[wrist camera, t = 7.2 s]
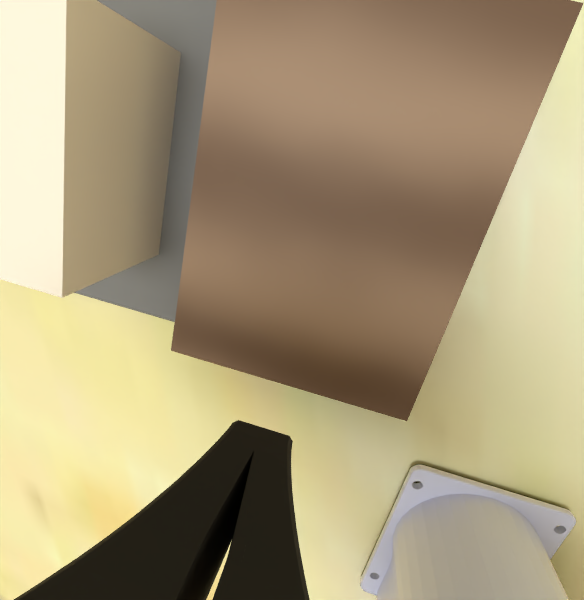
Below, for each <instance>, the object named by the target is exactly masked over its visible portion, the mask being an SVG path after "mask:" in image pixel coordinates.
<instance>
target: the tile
mask: <svg viewBox="0 0 584 600" xmlns="http://www.w3.org/2000/svg"><path fill="white" fill-rule="evenodd" d="M180 56H181V52H179V51H177V50H176V49H174V48H173V47H171V46H169V45H168V44H166V43H165V42H163V41H161V40H160V39H158V38H157V37H155V36H153V35H152V34H150V33H149V32H147V31H145V30H144V29H142V28H140V27H139V26H137V25H136V24H134V23H132V22H131V21H129V20H128V19H126V18H124V17H123V16H121V15H120V14H118V13H116V12H115V11H113V10H112V9H110V8H108V7H107V6H105V5H104V4H102V3H100V2H99V1H97V0H0V279H1V280H5V281H8V282H11V283H15V284H18V285H21V286H25V287H28V288H31V289H35V290H38V291H41V292H45V293H48V294H51V295H55V296H58V297H61V298H63V297H65V296H67V295H69V294H72V293H74V292H76V291H78V290H81V289H83V288H85V287H87V286H90V285H92V284H94V283H96V282H99V281H101V280H103V279H105V278H107V277H110V276H112V275H114V274H116V273H119V272H121V271H123V270H125V269H128V268H130V267H132V266H134V265H137V264H139V263H141V262H143V261H146V260H148V259H150V258H152V257H154V256H157V255H159V247H160V238H161V229H162V220H163V211H164V202H165V193H166V184H167V175H168V165H169V156H170V147H171V138H172V129H173V120H174V111H175V102H176V93H177V84H178V74H179V65H180Z"/></svg>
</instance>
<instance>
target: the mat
mask: <svg viewBox="0 0 584 600" xmlns="http://www.w3.org/2000/svg"><path fill="white" fill-rule="evenodd" d="M97 1H99V2H100V3H102V4H104V5H105V6H107V7H108V8H110V9H112V10H113V11H115V12H116V13H118V14H120V15H121V16H123V17H124V18H126V19H128V20H129V21H131V22H132V23H134V24H136V25H137V26H139V27H140V28H142V29H144V30H145V31H147V32H149V33H150V34H152V35H153V36H155V37H157V38H158V39H160V40H161V41H163V42H165V43H166V44H168V45H169V46H171V47H173V48H174V49H176V50H177V51H179V52H181V56H180V65H179V74H178V84H177V93H176V102H175V111H174V120H173V129H172V138H171V147H170V156H169V165H168V175H167V184H166V193H165V202H164V211H163V220H162V229H161V238H160V247H159V255H157V256H154V257H152V258H150V259H148V260H146V261H143V262H141V263H139V264H137V265H134V266H132V267H130V268H128V269H125V270H123V271H121V272H119V273H116V274H114V275H112V276H110V277H107V278H105V279H103V280H101V281H99V282H96V283H94V284H92V285H90V286H87V287H85V288H83V289H81V290H78V291H76V292H74V293H78V294H81V295H84V296H88V297H91V298H95V299H98V300H101V301H105V302H108V303H112V304H115V305H118V306H122V307H125V308H129V309H132V310H136V311H139V312H142V313H146V314H149V315H153V316H156V317H159V318H163V319H166V320H170V321H173V322H175V317H176V309H177V301H178V294H179V286H180V278H181V271H182V263H183V255H184V248H185V240H186V232H187V225H188V217H189V209H190V202H191V194H192V186H193V179H194V171H195V163H196V156H197V148H198V140H199V133H200V125H201V117H202V109H203V102H204V94H205V86H206V79H207V71H208V63H209V56H210V48H211V40H212V33H213V25H214V17H215V10H216V2H217V0H97Z"/></svg>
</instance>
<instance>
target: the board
mask: <svg viewBox="0 0 584 600" xmlns="http://www.w3.org/2000/svg"><path fill="white" fill-rule="evenodd" d="M582 5H583V3H580V2H575V1H571V0H217V2H216V10H215V17H214V25H213V33H212V40H211V48H210V56H209V63H208V71H207V79H206V86H205V94H204V102H203V109H202V117H201V125H200V133H199V140H198V148H197V156H196V163H195V171H194V179H193V186H192V194H191V202H190V209H189V217H188V225H187V232H186V240H185V248H184V255H183V263H182V271H181V278H180V286H179V294H178V301H177V309H176V317H175V325H174V332H173V340H172V348H171V351H174V352H178V353H181V354H184V355H188V356H191V357H194V358H198V359H201V360H204V361H208V362H211V363H214V364H218V365H221V366H224V367H228V368H231V369H234V370H238V371H241V372H245V373H248V374H251V375H255V376H258V377H261V378H265V379H268V380H271V381H275V382H278V383H281V384H285V385H288V386H291V387H295V388H298V389H301V390H305V391H308V392H311V393H315V394H318V395H321V396H325V397H328V398H331V399H335V400H338V401H341V402H345V403H348V404H352V405H355V406H358V407H362V408H365V409H368V410H372V411H375V412H378V413H382V414H385V415H388V416H392V417H395V418H398V419H402V420H405V421H407V420H408V417H409V415H410V412H411V410H412V408H413V405H414V403H415V401H416V398H417V396H418V394H419V391H420V389H421V386H422V384H423V382H424V379H425V377H426V375H427V372H428V370H429V367H430V365H431V363H432V360H433V358H434V356H435V353H436V351H437V349H438V346H439V344H440V341H441V339H442V337H443V334H444V332H445V330H446V327H447V325H448V323H449V320H450V318H451V315H452V313H453V311H454V308H455V306H456V304H457V301H458V299H459V296H460V294H461V292H462V289H463V287H464V285H465V282H466V280H467V278H468V275H469V273H470V270H471V268H472V266H473V263H474V261H475V259H476V256H477V254H478V251H479V249H480V247H481V244H482V242H483V240H484V237H485V235H486V233H487V230H488V228H489V225H490V223H491V221H492V218H493V216H494V214H495V211H496V209H497V206H498V204H499V202H500V199H501V197H502V195H503V192H504V190H505V188H506V185H507V183H508V180H509V178H510V176H511V173H512V171H513V169H514V166H515V164H516V161H517V159H518V157H519V154H520V152H521V150H522V147H523V145H524V143H525V140H526V138H527V135H528V133H529V131H530V128H531V126H532V124H533V121H534V119H535V116H536V114H537V112H538V109H539V107H540V105H541V102H542V100H543V98H544V95H545V93H546V90H547V88H548V86H549V83H550V81H551V79H552V76H553V74H554V72H555V69H556V67H557V64H558V62H559V60H560V57H561V55H562V53H563V50H564V48H565V45H566V43H567V41H568V38H569V36H570V34H571V31H572V29H573V27H574V24H575V22H576V19H577V17H578V15H579V12H580V10H581V8H582Z"/></svg>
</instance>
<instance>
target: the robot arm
mask: <svg viewBox="0 0 584 600" xmlns="http://www.w3.org/2000/svg"><path fill="white" fill-rule="evenodd" d="M292 442H293V441H292V440H291V438H290V436H288V435H285V434H281V433H278V432H275V431H272V430H268V429H265V428H262V427H259V426H255V425H252V424H249V423H246V422H243V421H239V420H238V421H236V422H234V423H232V425H231V426H230V427H229V428H228V430H227V431H226V432H225V433H224V434H223V435H222V436H221V438H220V439H219V440H218V441H217V442H216V443H215V444H214V445H213V446H212V447H211V448H210V449H209V450H208V451H207V452H206V453H205V454H204V455H203V456H202V457H201V458H200V459H199V460H198V461H197V462H196V463H195V464H194V465H193V466H192V467H191V468H189V469H188V470H187V471H186V472H185V473H184V474H183V475H182V476H181V477H180V478H179V479H178V480H177V481H175V482H174V483H173V484H172V485H171V486H170V487H169V488H167V489H166V490H165V491H164V492H163V493H161V494H160V495H159V496H158V497H157V498H155V499H154V500H153V501H152V502H151V503H149V504H148V505H147V506H146V507H145V508H143V509H142V510H141V511H140V512H139V513H137V514H136V515H135V516H134V517H132V518H131V519H130V520H128V521H127V522H126V523H125V524H123V525H122V526H121V527H119V528H118V529H117V530H115V531H114V532H113V533H111V534H110V535H109V536H107V537H106V538H105V539H103V540H102V541H100V542H99V543H98V544H96V545H95V546H93V547H92V548H91V549H89V550H88V551H87V552H85V553H84V554H82V555H81V556H79V557H78V558H77V559H75V560H74V561H72V562H71V563H69V564H68V565H66V566H65V567H63V568H62V569H60V570H59V571H57V572H56V573H54V574H53V575H51V576H50V577H48V578H47V579H45V580H44V581H42V582H41V583H39V584H38V585H36V586H35V587H33V588H31V589H30V590H28V591H27V592H25V593H24V594H22V595H20V596H19V597H17V598H16V599H14V600H206V599H207V596H208V594H209V592H210V589H211V587H212V585H213V582H214V580H215V578H216V575H217V573H218V571H219V568H220V566H221V564H222V561H223V559H224V557H225V554H226V552H227V550H228V547H229V545H230V542H231V546H230V550H229V554H228V557H227V560H226V563H225V566H224V569H223V572H222V574H221V577H220V580H219V583H218V586H217V589H216V591H215V594H214V597H213V600H309V595H308V591H307V586H306V581H305V576H304V570H303V565H302V560H301V554H300V548H299V542H298V536H297V529H296V521H295V513H294V504H293V495H292V480H291V449H292ZM415 481H420V483H413V482H415ZM575 524H576V519H575V517H574V515H573V514H572V513H571V511H569V510H567V509H565V508H561V507H558V506H555V505H552V504H548V503H545V502H542V501H539V500H535V499H532V498H529V497H526V496H522V495H519V494H516V493H513V492H509V491H506V490H503V489H500V488H496V487H493V486H490V485H487V484H483V483H480V482H477V481H474V480H470V479H467V478H464V477H460V476H457V475H454V474H451V473H447V472H444V471H441V470H438V469H434V468H431V467H428V466H425V465H415V466H413V467H412V468H411V469H410V470H409V473H408V475H407V477H406V479H405V482H404V484H403V486H402V488H401V490H400V493H399V495H398V497H397V499H396V501H395V504H394V506H393V508H392V510H391V513H390V515H389V517H388V519H387V521H386V524H385V526H384V528H383V530H382V532H381V535H380V537H379V539H378V541H377V543H376V546H375V548H374V550H373V552H372V555H371V557H370V559H369V561H368V563H367V566H366V568H365V570H364V572H363V574H362V577H361V580H360V586H361V588H362V589H363V590H364V591H366V592H368V593H371V594H374V595H377V600H569V598H568V596H567V594H566V592H565V590H564V588H563V586H562V584H561V582H560V580H559V578H558V575H557V573H556V571H555V569H554V567H553V565H552V563H551V561H550V559H551V558H552V557H553V555H554V554H555V552H556V551H557V549H558V548H559V547H560V545H561V544H562V542H563V541H564V540H565V538H566V537H567V535H568V534H569V533H570V531H571V530H572V528H573V527H574V526H575ZM559 525H560V526H559ZM556 526H557V527H556ZM231 540H232V541H231Z"/></svg>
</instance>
